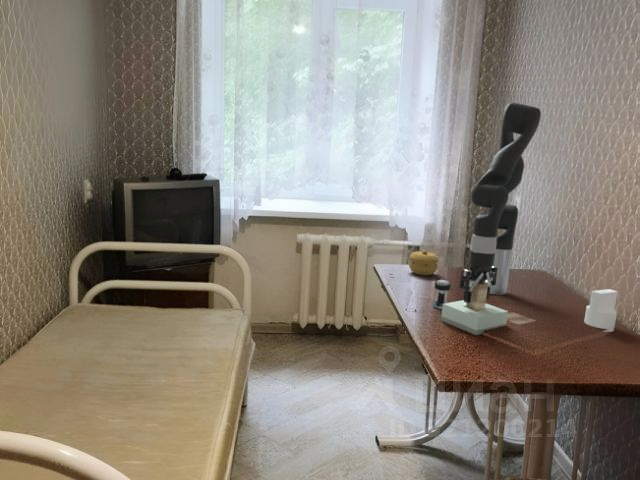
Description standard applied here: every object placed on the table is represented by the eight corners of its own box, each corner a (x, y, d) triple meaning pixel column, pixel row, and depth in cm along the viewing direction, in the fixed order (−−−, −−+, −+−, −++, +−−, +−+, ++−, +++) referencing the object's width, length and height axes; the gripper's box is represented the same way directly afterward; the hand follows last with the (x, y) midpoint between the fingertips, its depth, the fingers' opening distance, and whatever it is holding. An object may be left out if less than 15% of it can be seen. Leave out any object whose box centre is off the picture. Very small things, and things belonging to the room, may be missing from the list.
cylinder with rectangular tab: (601, 333, 188) (607, 296, 186) (577, 323, 196) (583, 288, 194) (620, 330, 193) (626, 294, 190) (596, 321, 200) (602, 286, 198)
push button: (452, 309, 201) (455, 281, 199) (451, 314, 196) (455, 285, 194) (432, 306, 202) (435, 278, 200) (430, 311, 197) (434, 282, 195)
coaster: (495, 318, 195) (495, 315, 194) (512, 315, 200) (512, 312, 200) (518, 327, 188) (519, 324, 187) (535, 323, 193) (536, 320, 193)
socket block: (440, 320, 189) (442, 303, 188) (470, 314, 197) (472, 298, 196) (476, 335, 178) (478, 317, 177) (505, 328, 186) (508, 311, 185)
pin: (464, 318, 188) (469, 281, 185) (472, 317, 190) (477, 280, 187) (474, 322, 184) (479, 285, 182) (483, 320, 187) (488, 283, 184)
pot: (430, 279, 238) (433, 255, 236) (403, 274, 244) (405, 250, 242) (440, 274, 248) (443, 250, 246) (414, 268, 254) (416, 245, 252)
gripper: (487, 245, 190) (481, 294, 193) (457, 248, 181) (451, 300, 185) (507, 250, 184) (500, 301, 187) (477, 254, 176) (470, 307, 179)
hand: (476, 300), depth 186 cm, fingers open, 8 cm apart
